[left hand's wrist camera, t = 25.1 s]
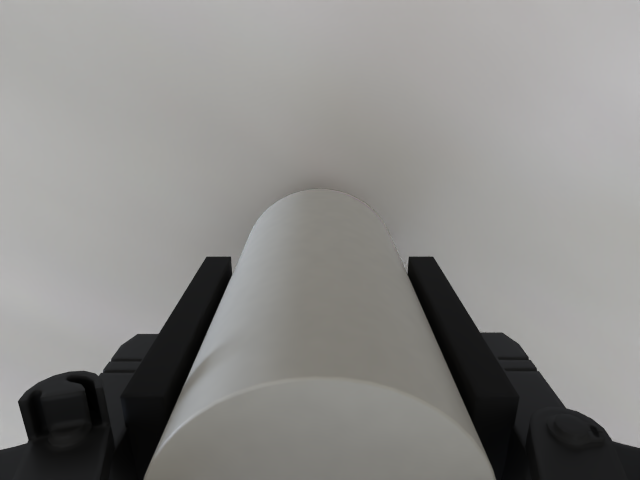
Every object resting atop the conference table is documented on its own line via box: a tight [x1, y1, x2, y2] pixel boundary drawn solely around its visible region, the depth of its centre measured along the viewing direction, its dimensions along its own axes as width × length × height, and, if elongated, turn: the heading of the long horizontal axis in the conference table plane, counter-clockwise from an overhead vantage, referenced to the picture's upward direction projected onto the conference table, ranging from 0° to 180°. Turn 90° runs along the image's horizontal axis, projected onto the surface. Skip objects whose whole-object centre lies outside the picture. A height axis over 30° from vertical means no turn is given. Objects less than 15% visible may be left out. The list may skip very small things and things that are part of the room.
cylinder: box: [144, 189, 496, 480], centre depth 12 cm, size 6×6×11 cm
